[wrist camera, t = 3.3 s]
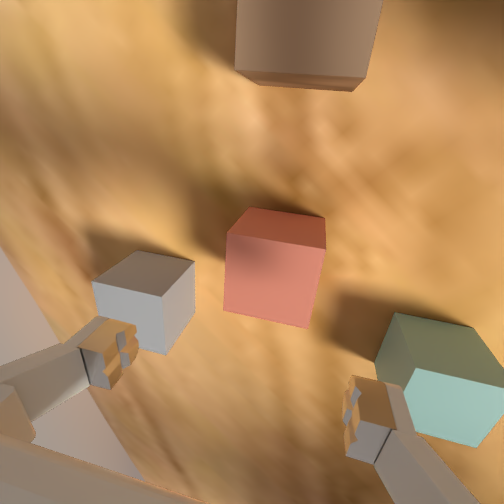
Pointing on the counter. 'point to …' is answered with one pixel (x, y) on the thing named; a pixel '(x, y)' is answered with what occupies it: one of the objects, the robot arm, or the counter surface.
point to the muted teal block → (443, 377)
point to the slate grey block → (149, 297)
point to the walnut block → (306, 42)
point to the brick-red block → (274, 265)
